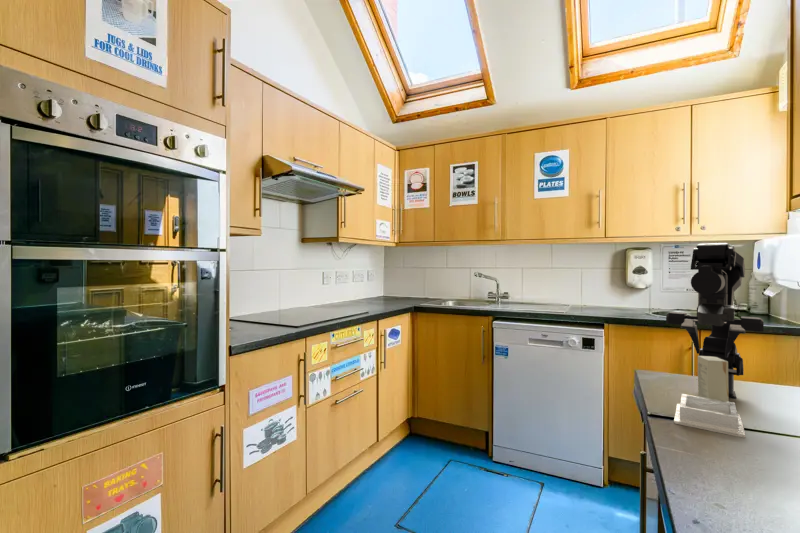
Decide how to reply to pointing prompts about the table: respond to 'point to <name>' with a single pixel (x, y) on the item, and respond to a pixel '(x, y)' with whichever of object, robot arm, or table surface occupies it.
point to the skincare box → (713, 378)
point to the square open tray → (709, 415)
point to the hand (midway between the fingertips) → (712, 355)
